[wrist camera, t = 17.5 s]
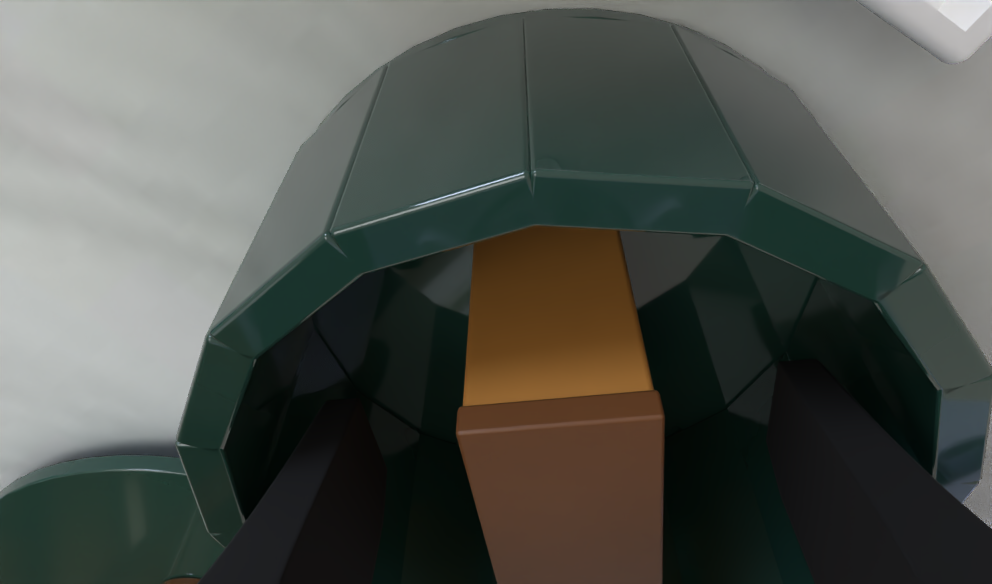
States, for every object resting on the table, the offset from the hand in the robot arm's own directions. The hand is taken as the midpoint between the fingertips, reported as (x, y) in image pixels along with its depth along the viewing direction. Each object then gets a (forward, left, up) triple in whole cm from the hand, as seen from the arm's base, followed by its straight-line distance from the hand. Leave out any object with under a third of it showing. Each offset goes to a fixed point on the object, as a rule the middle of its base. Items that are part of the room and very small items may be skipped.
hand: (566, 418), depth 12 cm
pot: (0, 0, -4) cm, 4 cm away
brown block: (0, 0, -3) cm, 3 cm away
